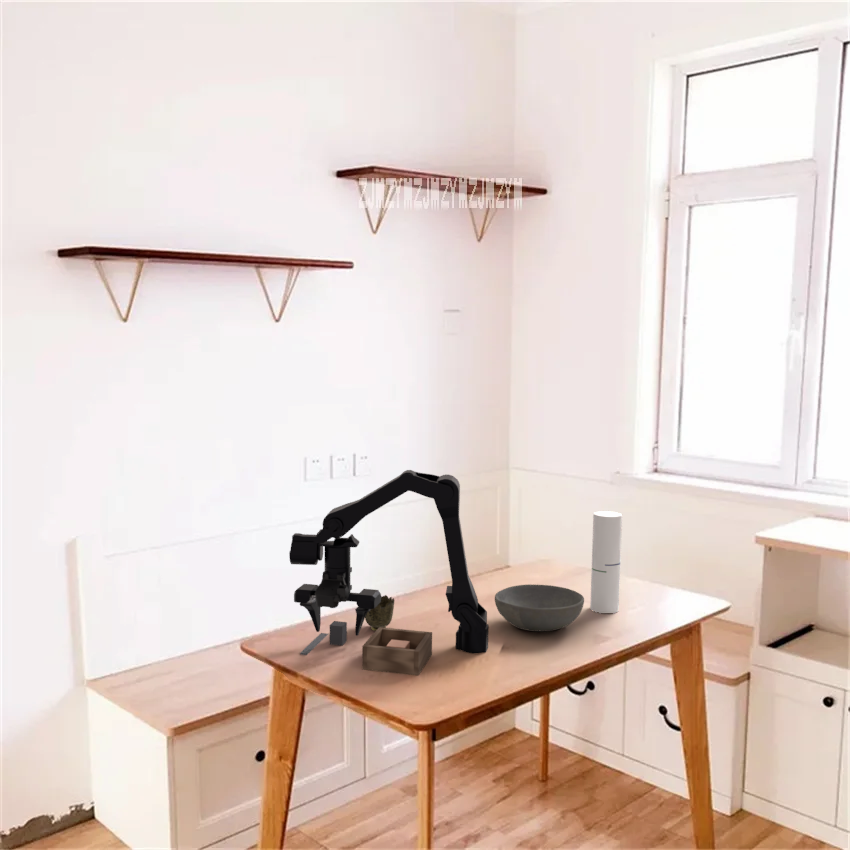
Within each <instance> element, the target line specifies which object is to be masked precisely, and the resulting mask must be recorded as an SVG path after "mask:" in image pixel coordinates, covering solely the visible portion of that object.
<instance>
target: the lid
mask: <svg viewBox="0 0 850 850" xmlns="http://www.w3.org/2000/svg"><path fill="white" fill-rule="evenodd" d="M347 629H348V622H346V621H339V620H337V621H336V620H334V621H332V623H330V624H329V633H326V632H321V633H319V634H318V635H317V636H316V638H314V639H313V640H311V642H310V643H309V644H307V645H306V646H305V647H304V648H303V650H301V651H300V654H299V655H300V656H301V655H302V656H308V654H310V653H311V652H312V651H313V650H314V648H316V647H317V646H318V645H319V644H320V643H321V642H322V641H323V640H324V639H325V638H326V637H327V636H328V635H329V645H331V646H341V647H343V645H345V644H346V642H348V635H347V634H348V630H347Z"/></svg>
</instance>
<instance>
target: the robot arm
mask: <svg viewBox="0 0 850 850" xmlns="http://www.w3.org/2000/svg"><path fill="white" fill-rule="evenodd" d="M409 491H410V492H412V493H416V494H417V495H420V496H423V497H427V498H431V499H433V501H434V503H435V506H436V510H437V512H438V515H439V516H440V518H441V520H442V527H443V532H444V539H445V540H444V541H445V544H446V552H447V558H448V562H449V563H448V564H449V570H450V576H451V581H452V582H451V585H447V586H446V591H445V596H446V601H447V602H448V609H447V610H448V611H447V612H448V613H449V612H451V615H452V618H453V619H454V620H456V621H457V622H458V623H459V625H458V629H457V630H456V632H455V650H458V651H462V652H464V653H466V654H467V653H468V654H482V653H484V654H486V653H487V651H488V649H489V628H490V627H489V624H488V611H487V610H486V609H485V608H484V607H483V606H482V605H481V604H480V603H479V599H478V596H477V592H476V590H475V587H474V584H473V583H472V580H471V578H470V574H469V570H468V564H467V555H466V551H465V544H464V538H463V532H462V526H461V525H462V524H461V519H460V503H461V501H460V499H461V494H460V493H461V484H460V482H459V480H458V479H457V478H456V477H455V476H454V475H451V474H442V475H440V476H439V475H435V474H431V473H423V472H418V471H415V470H412V469H406V470H404V471H402V472H401V474H400V475H398V476H396V477H395V478H393V479H391V480H390V481H388V482H386V483H384V484H383V485H381V486H380V487H379V486H378V488H376V489H375V490H373V491H371V492H370V493H368V494H366V495H365V496H363V497H361V498H360V499H357V500H354V501H352V502H351V501H350V502H347V503H345V504H341V505H340V506H337V507H334V508H332V509H331V510H330V511H329V512H328V513H327V515H326V516H325V517H324V518H323V521H322V529H319V531H318V532H317V533H316V534H307V533H306V534H305V533H304V534H303V533H299V532H298V533H297V532H295V533H293V535H291V539H292V540H291V542H290V543H291V545H290V550H289V553H288V554H289V556H288V557H289V561H290V564H291V565H306V566H310V565H311V566H316V565H318V564H319V563H318V562H319V561H320V562H321V561H322V560H323V556H324V570H323V572H322V579H321V582H320V584H319V585H318V584H311V583H310V584H309V583H303V584H302V585H300V586H299V587H297V588H296V590H295V591H294V594H293V602H294V603H298V604H299V605H300V607H304V609H306V610H307V612H308V614H309V615H310V619H311V620H312V624H313V625H314V629H315V631H316V633H319V632H320V631H321V623H322V622H321V619H322V618H321V614H322V613H321V608H322V607H325V608H330V609H336V608H337V607H338V606H339V603H341V602H343V603H345V602H355V603H356V605H357V607H356V608H355V613H356V616H355V628H354V630H355V632H354V633H355V636H356V637H358V636H359V634H360V631H361V629H362V626H363V624H364V621H365V616H366V614H367V612H369V611H370V610H371V609H374V608H375V607H376V606H377V605H378V604H379V603H380V602H381V596H382V593H381V592H380V591H379V589H372V588H370V589H369V588H363V589H362V590H361V591H360V592H352V589H353V585H352V584H351V573H352V572H353V567H352V566H351V548H357V547H358V546H359V545H360V540H359V539H357V538H356V537H355V536H354V534H353V533H352V534H351V533H350V535H349V536H348V537H344V536H345V535H347V533H349V532H350V531H351V529H353V528H355V526H356V525H358V524H359V523H360V522H361V521H362V520H363V519H364V518H365V517H367V516H368V515H370V514H372V513H373V512H375V511H376V510H379V509H380V508H382V507H383V506H385V505H386V504H388V503H390V502H391V501H393V500H396V499H397V498H398V497H400V496H401V495H403V494H405V493H407V492H409ZM332 538H334V540H330V539H332Z"/></svg>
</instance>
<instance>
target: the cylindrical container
mask: <svg viewBox="0 0 850 850" xmlns="http://www.w3.org/2000/svg"><path fill="white" fill-rule="evenodd" d="M592 514H593V516H592V519H593V521H592V543H591V544H592V545H591V546H592V549H591V550H592V551H591V572H590V573H591V574H590V576H591V577H590V578H591V579H590V605H589V609H590V610H591V611H592V610H593V611H592V612H594V611H595V612H594V613H597V612H599V613H598V614H601V613H613V614H617V613H618V612H619V611H618V610H619V605H620V584H621V583H620V582H621V581H620V580H621V559H622V558H621V557H622V555H621V554H622V553H621V552H622V530H623V529H622V527H623V514H622V513H621V512H617V511H609V510H600V511H599V510H598V511H595V512H593V513H592ZM616 612H617V613H616Z"/></svg>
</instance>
